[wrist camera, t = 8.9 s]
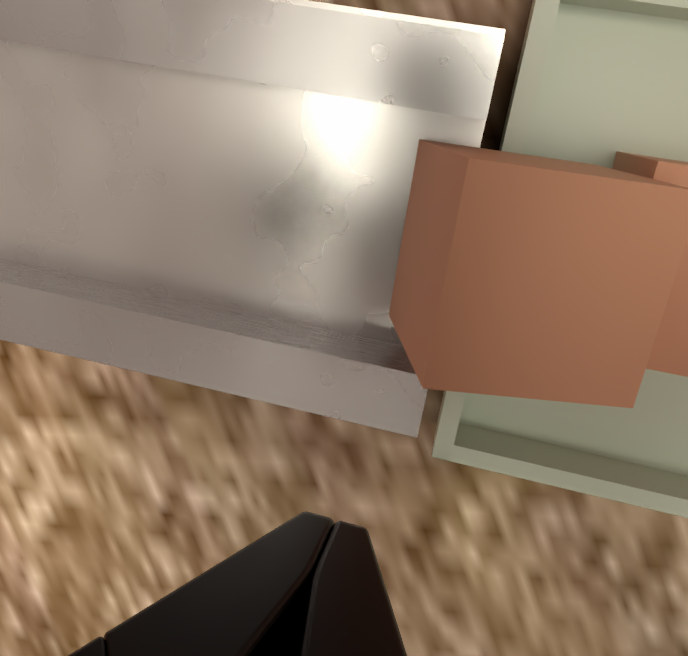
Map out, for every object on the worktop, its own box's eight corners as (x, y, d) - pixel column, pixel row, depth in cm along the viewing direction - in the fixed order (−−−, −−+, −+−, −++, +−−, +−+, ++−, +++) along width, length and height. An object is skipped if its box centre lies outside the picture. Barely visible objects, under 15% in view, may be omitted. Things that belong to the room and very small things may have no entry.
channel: (429, 375, 19) (414, 449, 15) (-28, 274, 21) (-157, 313, 17) (501, 44, 16) (508, 18, 12) (-38, -36, 18) (-198, -84, 14)
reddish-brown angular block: (550, 332, 16) (633, 408, 12) (388, 315, 15) (423, 388, 12) (594, 164, 15) (703, 191, 11) (419, 139, 14) (469, 158, 10)
